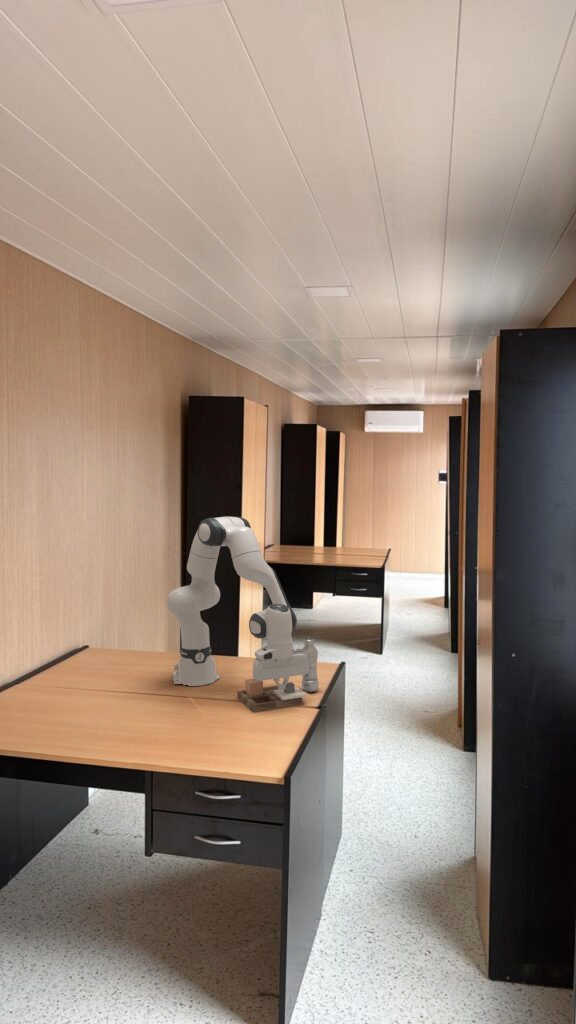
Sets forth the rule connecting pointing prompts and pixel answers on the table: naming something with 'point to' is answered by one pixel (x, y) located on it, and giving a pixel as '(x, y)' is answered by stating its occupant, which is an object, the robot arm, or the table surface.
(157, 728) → the table surface
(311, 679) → the plastic bottle
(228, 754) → the table surface
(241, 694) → the board
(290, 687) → the lid
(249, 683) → the block
